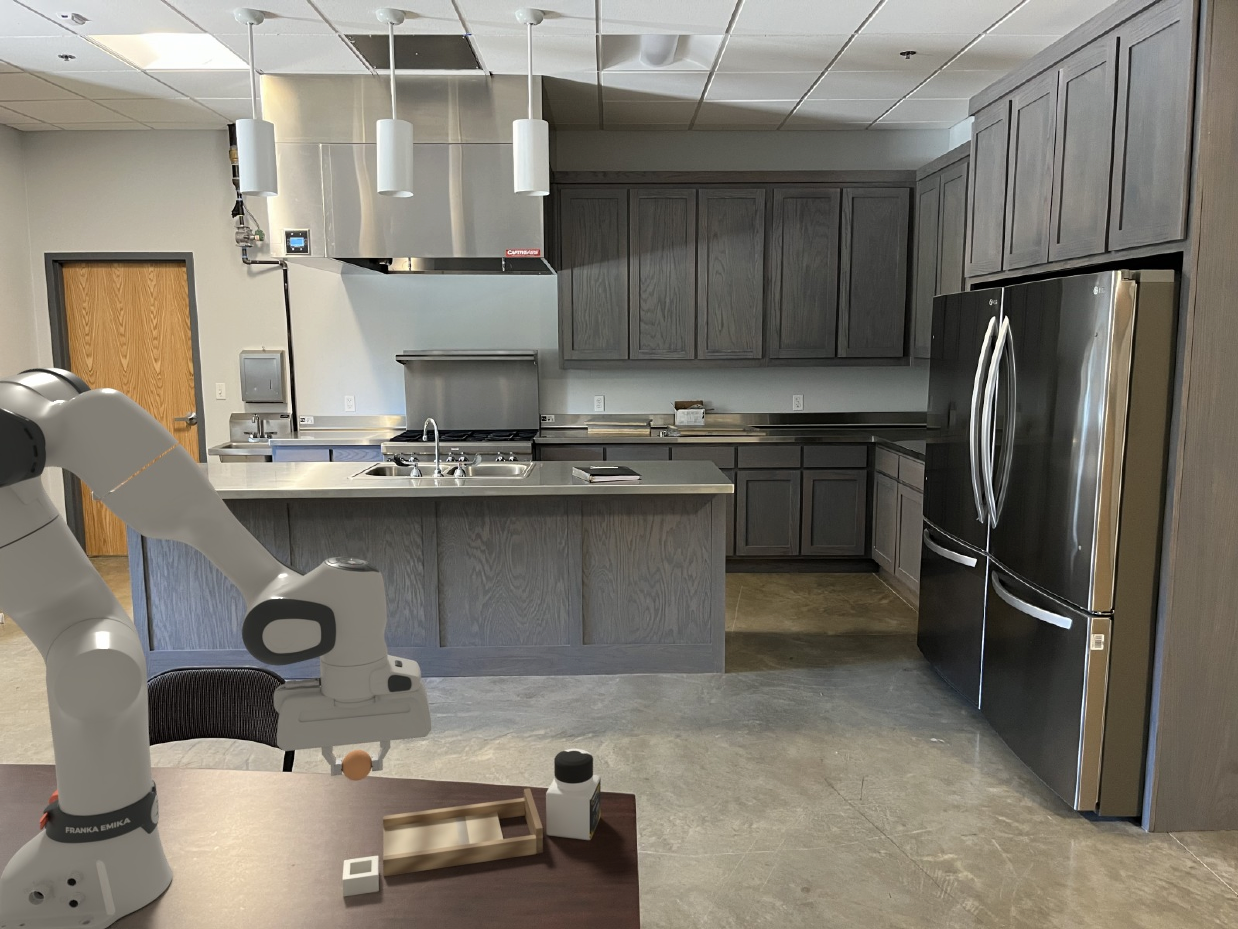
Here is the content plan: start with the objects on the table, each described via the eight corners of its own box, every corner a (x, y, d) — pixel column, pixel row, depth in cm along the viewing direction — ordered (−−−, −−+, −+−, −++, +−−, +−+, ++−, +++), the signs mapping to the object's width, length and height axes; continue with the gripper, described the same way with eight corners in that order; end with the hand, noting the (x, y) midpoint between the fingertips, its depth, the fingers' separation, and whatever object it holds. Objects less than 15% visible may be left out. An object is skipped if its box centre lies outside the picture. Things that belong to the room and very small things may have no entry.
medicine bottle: (590, 841, 133) (590, 767, 132) (545, 836, 135) (545, 762, 133) (600, 816, 140) (601, 746, 139) (558, 812, 142) (557, 742, 140)
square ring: (343, 896, 120) (342, 880, 119) (344, 876, 124) (343, 860, 124) (378, 891, 121) (378, 874, 121) (378, 871, 125) (378, 855, 125)
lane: (383, 876, 124) (382, 850, 124) (383, 831, 136) (382, 807, 135) (542, 853, 130) (542, 828, 130) (530, 811, 142) (529, 788, 141)
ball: (341, 787, 118) (340, 760, 118) (343, 773, 122) (341, 746, 121) (372, 784, 119) (371, 756, 119) (372, 770, 123) (371, 743, 122)
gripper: (270, 691, 113) (274, 791, 115) (431, 677, 118) (432, 774, 120) (275, 673, 119) (279, 769, 121) (429, 661, 124) (430, 753, 126)
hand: (357, 771), depth 120 cm, fingers closed on ball, 4 cm apart
